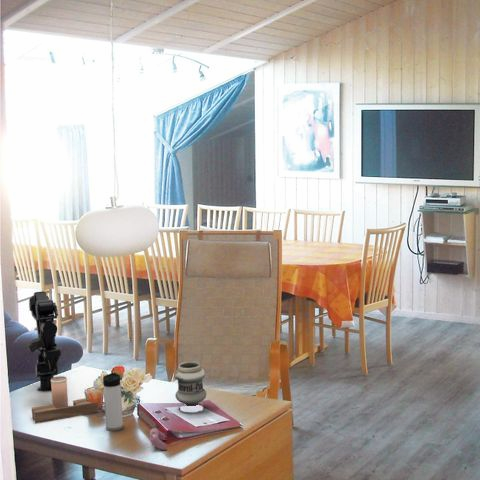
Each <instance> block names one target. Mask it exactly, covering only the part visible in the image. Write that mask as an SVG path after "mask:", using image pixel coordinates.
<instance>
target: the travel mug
mask: <svg viewBox="0 0 480 480" xmlns="http://www.w3.org/2000/svg"><path fill="white" fill-rule="evenodd" d="M102 381H103V382H102V383H103V401H104V402H103V403H104V416H105V418H104V419H105V420H104V421H105V429H106V430H107V431H109V432H110V431H112V432H116V431H120V430H122V429H123V427H124V421H123V420H124V417H123V403H122V386H121V375H120V374H118V373H116V372H110V373H108V374H105V375H104V376H103V377H102Z"/></svg>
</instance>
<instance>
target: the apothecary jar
mask: <svg viewBox="0 0 480 480" xmlns="http://www.w3.org/2000/svg"><path fill="white" fill-rule="evenodd" d="M205 376H206V372H205V370H204V369H203V368H202V367H201V364H200V362H198V361H185V362H182V363H180V364H178V367H177V370H176V371H175V372H174V377H175V380H177V385H178V386H177V387H178V388H177V391H176V392H175V398H176V400H177V401H178V402H179V403H181V404H183V405H184V404H186V405H187V406H196V405H198V404H200V403H202V402H203V401H204V400H205V399H206V398H207V391H206V389H204V385H203V379H204V378H205Z"/></svg>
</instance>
